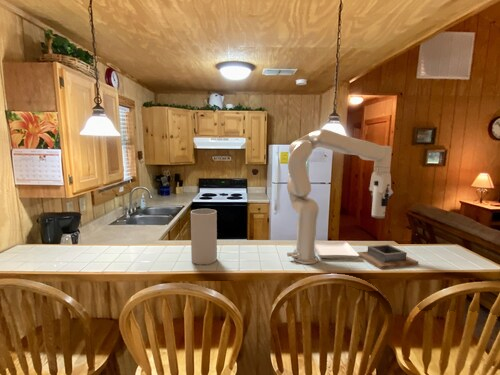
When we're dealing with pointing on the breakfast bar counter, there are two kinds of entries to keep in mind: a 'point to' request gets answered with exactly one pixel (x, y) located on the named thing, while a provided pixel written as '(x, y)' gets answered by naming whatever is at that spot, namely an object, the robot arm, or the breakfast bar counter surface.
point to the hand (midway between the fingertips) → (379, 204)
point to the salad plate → (335, 250)
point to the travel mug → (377, 203)
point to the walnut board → (383, 265)
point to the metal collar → (391, 251)
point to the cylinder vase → (204, 236)
